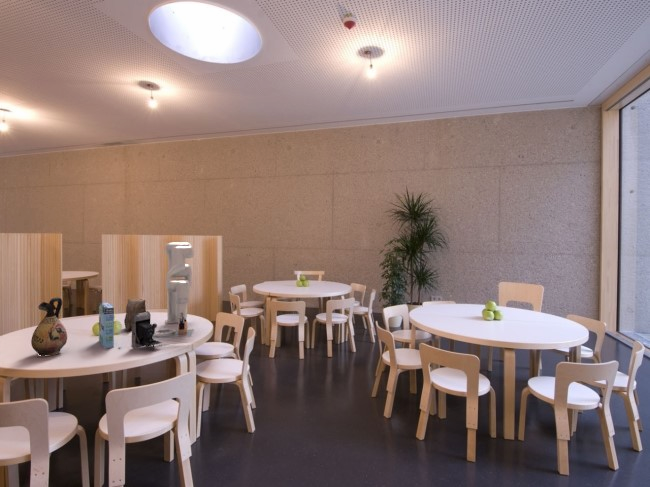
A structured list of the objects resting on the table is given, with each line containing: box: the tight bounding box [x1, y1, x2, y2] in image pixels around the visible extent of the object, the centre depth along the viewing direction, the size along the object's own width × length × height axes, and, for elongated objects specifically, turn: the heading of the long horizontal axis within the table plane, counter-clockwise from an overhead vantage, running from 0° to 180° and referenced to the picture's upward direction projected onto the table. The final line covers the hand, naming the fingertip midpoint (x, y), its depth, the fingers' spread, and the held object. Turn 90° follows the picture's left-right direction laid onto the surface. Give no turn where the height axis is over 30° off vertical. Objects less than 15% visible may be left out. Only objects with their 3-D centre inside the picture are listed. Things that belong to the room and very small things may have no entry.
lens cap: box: [177, 320, 188, 334], centre depth 233 cm, size 7×5×7 cm
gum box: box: [98, 302, 115, 349], centre depth 214 cm, size 20×5×23 cm, turn 39°
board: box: [152, 328, 195, 340], centre depth 231 cm, size 18×24×2 cm
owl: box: [124, 298, 147, 333], centre depth 249 cm, size 13×13×20 cm
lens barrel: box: [153, 328, 177, 337], centre depth 230 cm, size 13×13×2 cm
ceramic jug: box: [30, 296, 68, 357], centre depth 196 cm, size 17×15×30 cm
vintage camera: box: [131, 310, 162, 351], centre depth 206 cm, size 10×16×20 cm, turn 58°
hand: (182, 327), depth 232 cm, fingers open, 9 cm apart
